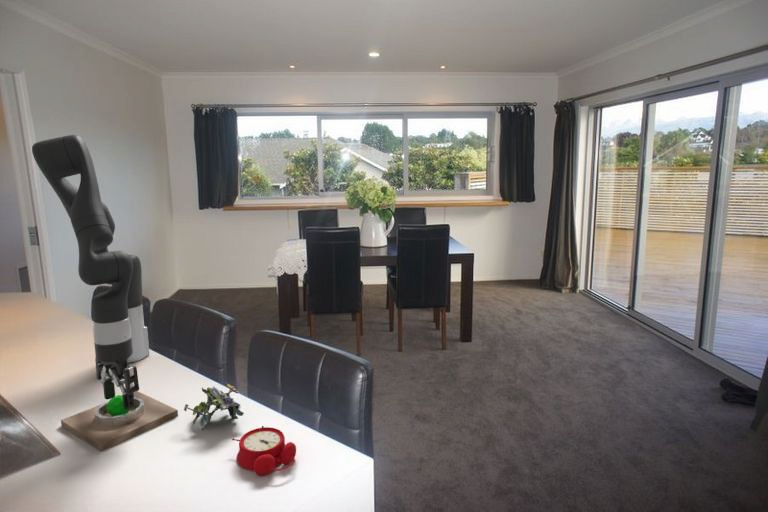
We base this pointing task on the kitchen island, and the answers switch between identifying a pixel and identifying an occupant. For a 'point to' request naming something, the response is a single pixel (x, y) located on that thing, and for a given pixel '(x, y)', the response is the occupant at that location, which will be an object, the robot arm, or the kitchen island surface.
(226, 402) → the grey green plastic figure
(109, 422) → the steel ring
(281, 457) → the alarm clock
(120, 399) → the polyhedron
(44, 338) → the kitchen island surface
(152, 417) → the walnut board
